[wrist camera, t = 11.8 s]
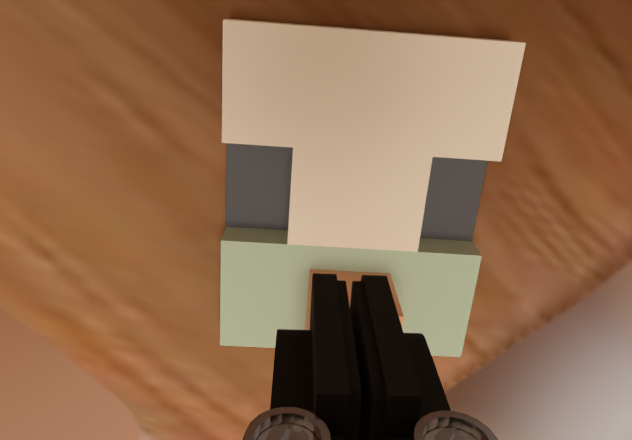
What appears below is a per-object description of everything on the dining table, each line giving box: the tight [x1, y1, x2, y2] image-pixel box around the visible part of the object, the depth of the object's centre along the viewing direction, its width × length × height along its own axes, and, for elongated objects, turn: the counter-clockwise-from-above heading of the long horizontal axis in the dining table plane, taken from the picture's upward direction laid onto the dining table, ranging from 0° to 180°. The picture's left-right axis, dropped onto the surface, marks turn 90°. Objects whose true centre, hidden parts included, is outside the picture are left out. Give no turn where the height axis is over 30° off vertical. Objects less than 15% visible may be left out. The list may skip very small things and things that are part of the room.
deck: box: [220, 19, 526, 357], centre depth 33 cm, size 20×16×2 cm
